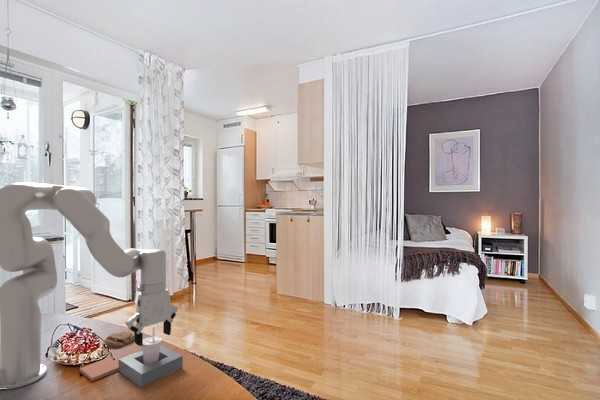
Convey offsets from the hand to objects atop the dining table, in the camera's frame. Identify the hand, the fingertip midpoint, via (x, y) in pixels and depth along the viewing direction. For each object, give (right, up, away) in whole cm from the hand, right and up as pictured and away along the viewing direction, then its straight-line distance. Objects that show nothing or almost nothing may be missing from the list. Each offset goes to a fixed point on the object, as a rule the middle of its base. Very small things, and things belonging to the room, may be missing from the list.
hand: (153, 339), depth 105 cm
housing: (-1, -10, 0) cm, 10 cm away
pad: (-16, -10, -1) cm, 19 cm away
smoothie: (-1, -10, 0) cm, 10 cm away
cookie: (-22, -10, +19) cm, 30 cm away
